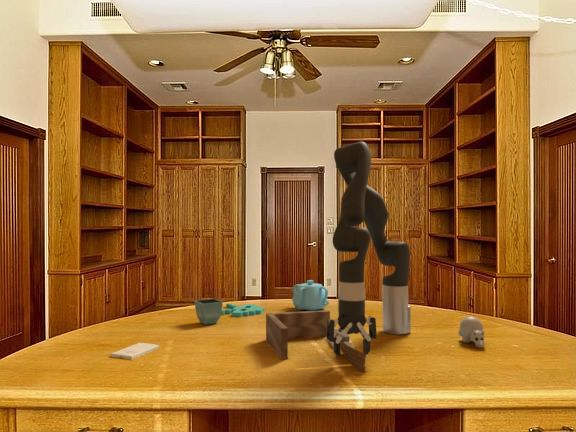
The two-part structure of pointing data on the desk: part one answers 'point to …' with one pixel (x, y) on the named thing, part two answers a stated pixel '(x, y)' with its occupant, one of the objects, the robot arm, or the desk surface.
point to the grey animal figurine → (472, 331)
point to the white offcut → (346, 343)
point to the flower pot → (208, 310)
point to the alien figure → (242, 310)
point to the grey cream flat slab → (332, 346)
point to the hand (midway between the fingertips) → (351, 354)
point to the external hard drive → (135, 351)
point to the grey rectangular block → (345, 338)
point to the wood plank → (353, 356)
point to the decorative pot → (310, 296)
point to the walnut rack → (294, 328)
